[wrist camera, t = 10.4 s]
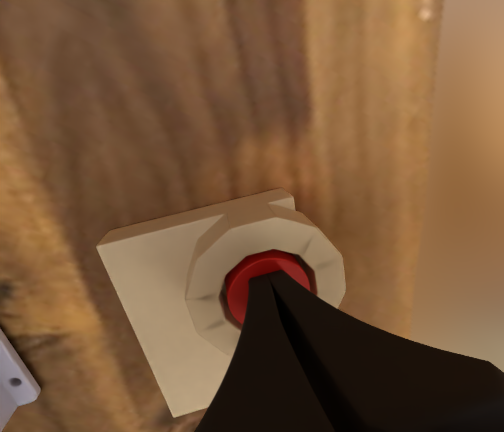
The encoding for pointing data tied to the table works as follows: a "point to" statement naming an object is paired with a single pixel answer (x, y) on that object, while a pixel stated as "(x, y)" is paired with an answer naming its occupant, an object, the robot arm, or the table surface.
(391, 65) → the table surface
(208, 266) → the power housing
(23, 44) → the table surface
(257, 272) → the power button
